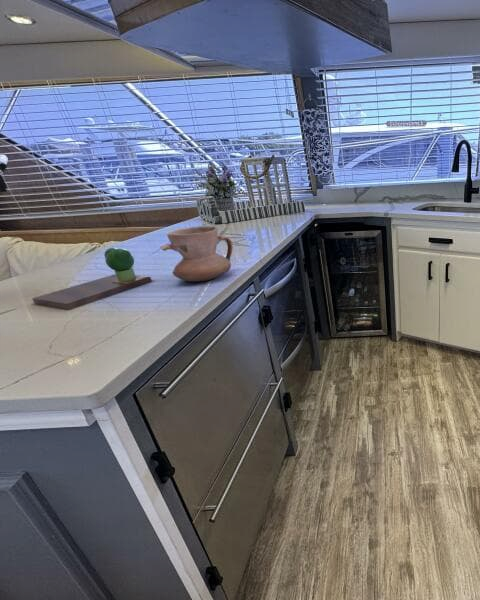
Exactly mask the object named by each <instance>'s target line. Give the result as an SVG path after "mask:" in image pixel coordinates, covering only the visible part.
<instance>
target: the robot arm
mask: <svg viewBox="0 0 480 600" xmlns="http://www.w3.org/2000/svg"><path fill="white" fill-rule="evenodd" d="M8 160H9V157H8V156H7V155H5V154H2V153H0V193H7V192H8V190H7V189H8V185H7V184H6V182H5V179H4V177H3V175H4V171H6V169H7V168H8V165H7V164H8Z"/></svg>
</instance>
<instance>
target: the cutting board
mask: <svg viewBox="0 0 480 600" xmlns="http://www.w3.org/2000/svg"><path fill="white" fill-rule="evenodd" d="M135 275H136V274H135ZM151 282H153V280H152V277H151V276H147V275H138V274H137V275H136V279H134V280H131V281H126V282H119V281H118V278H117V276H116V273H115V274H112V275H111V274H110V275H108V276H104V277H100V278H97V279H94V280H89V281H87V282H83V283H80V284H76V285H73V286H70V287H66V288H63V289H60V290H56V291H53V292H48V293H46V294H43V295H38V296H35V297H32V298H31V299H32V302H33V303H34V304H35V305H40V306H45V307H52V308H58V309H64V310H72V309H75V308H78V307H81V306H84V305H87V304H89V303H93V302H95V301H98V300H101V299H104V298H108V297H110V296H113V295H116V294H119V293H123V292H125V291H128V290H131V289H135V288H138V287H140V286H143V285H146V284H149V283H151Z"/></svg>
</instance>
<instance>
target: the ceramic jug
mask: <svg viewBox="0 0 480 600" xmlns="http://www.w3.org/2000/svg"><path fill="white" fill-rule="evenodd" d="M166 237H167V239H168V241H169V242H170V244H169V243H166V244H163V245H161V246H160V249H161V250H162V252H166V251H168V250H170V251H173V252H178V253H179V254H180V255H181V257H182V259H180V261H179V262H178V263H176V265H175V266H174V268H173V270H172V275H173V276H174V277H176V278H177V279H179V280H181V281H184V282H190V283H191V282H192V283H193V282H194V283H197V282H205V281H206V282H207V281H211V280H214V279H217V278H219V277H221V276H224V275H225V274H227V273H228V272H229V271H230V270H231V268H232V263H231V257H232V254H233V250H234V245H233V241H232V239H231V238H230V237H229V236H227V235H219V232H218V227H217V226H215V225H198V226H189V227H184V228H183V227H182V228H178V229H174V230H170V231H167V232H166ZM221 241H225V242H226V245H227V251H226V255H225V256H223V255H221V254H219V253H218V252H216V250H217V246H218V245H219V243H220V242H221Z"/></svg>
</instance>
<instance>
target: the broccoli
mask: <svg viewBox="0 0 480 600" xmlns="http://www.w3.org/2000/svg"><path fill="white" fill-rule="evenodd" d="M104 258H105V259H104V261H105V264H106V266H107V267H108V268H110V269H111V270H113V271H114V273H115V274H116V276H117V278H118V281H119V282H126V281H131V280H134V279H136V273H135V270H134V268H133V266H134V264H135V258H134V256H133V255H132V253H131V252H130V251H129V250H128V249H125V248H116V247H110V248H108V249H106V250H105V251H104Z"/></svg>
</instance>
